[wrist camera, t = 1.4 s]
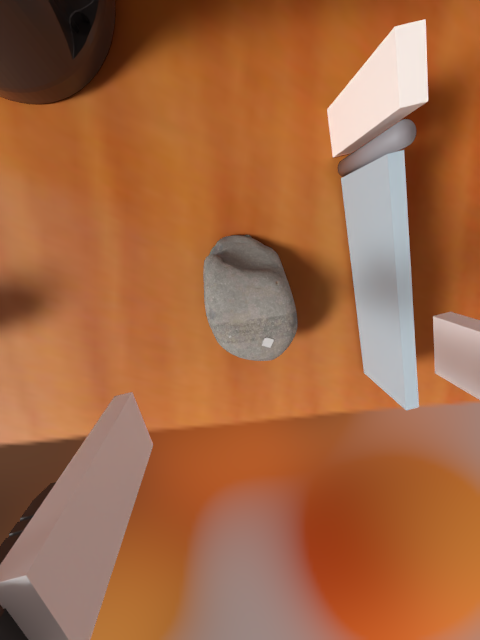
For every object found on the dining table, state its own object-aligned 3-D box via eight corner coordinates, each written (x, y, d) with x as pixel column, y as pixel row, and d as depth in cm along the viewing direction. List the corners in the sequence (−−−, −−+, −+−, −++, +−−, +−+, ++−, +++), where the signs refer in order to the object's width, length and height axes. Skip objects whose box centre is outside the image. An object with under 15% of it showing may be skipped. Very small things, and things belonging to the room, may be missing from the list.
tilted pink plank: (326, 109, 25) (394, 26, 15) (346, 104, 25) (425, 19, 15) (333, 157, 26) (399, 108, 17) (351, 153, 26) (428, 101, 17)
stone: (296, 238, 28) (319, 300, 21) (278, 305, 34) (290, 371, 27) (207, 228, 27) (198, 290, 20) (205, 299, 33) (197, 366, 26)
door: (336, 160, 26) (391, 122, 18) (363, 154, 26) (430, 112, 18) (362, 373, 32) (411, 417, 24) (383, 367, 32) (440, 410, 24)
